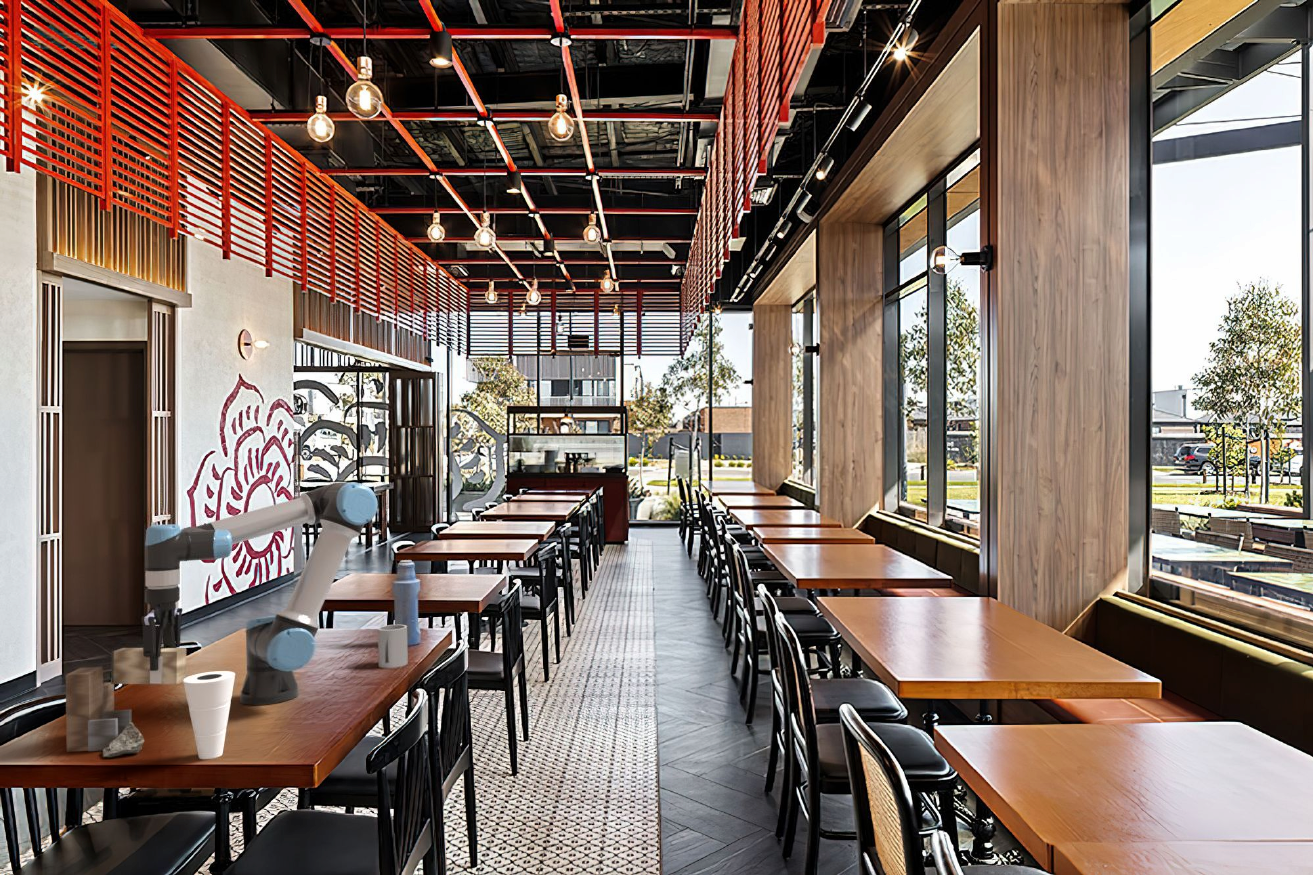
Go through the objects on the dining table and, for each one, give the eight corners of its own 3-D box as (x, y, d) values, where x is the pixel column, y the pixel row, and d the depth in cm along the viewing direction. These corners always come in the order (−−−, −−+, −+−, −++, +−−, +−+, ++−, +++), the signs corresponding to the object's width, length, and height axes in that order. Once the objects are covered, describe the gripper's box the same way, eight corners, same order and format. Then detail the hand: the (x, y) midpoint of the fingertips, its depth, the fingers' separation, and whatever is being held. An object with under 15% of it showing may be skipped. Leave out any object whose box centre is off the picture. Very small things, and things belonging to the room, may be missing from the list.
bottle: (395, 641, 318) (393, 559, 318) (423, 640, 319) (421, 558, 319) (390, 647, 308) (388, 562, 309) (418, 646, 309) (417, 561, 310)
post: (146, 727, 222) (145, 656, 223) (115, 749, 206) (114, 672, 206) (99, 730, 221) (98, 659, 221) (65, 752, 204) (64, 675, 204)
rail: (186, 680, 219) (186, 648, 219) (176, 684, 215) (176, 651, 215) (121, 679, 220) (122, 647, 220) (111, 683, 216) (111, 651, 216)
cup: (407, 659, 289) (406, 623, 290) (408, 666, 281) (407, 628, 281) (378, 662, 286) (377, 626, 287) (378, 669, 278) (378, 631, 278)
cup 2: (195, 767, 193) (193, 685, 193) (177, 756, 200) (175, 678, 200) (244, 754, 201) (243, 675, 201) (225, 744, 208) (223, 668, 208)
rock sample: (86, 739, 202) (120, 710, 205) (109, 751, 208) (141, 723, 211) (102, 766, 196) (136, 736, 199) (125, 778, 202) (158, 749, 205)
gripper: (168, 581, 227) (167, 672, 226) (125, 591, 210) (125, 689, 209) (196, 581, 226) (196, 672, 226) (156, 591, 209) (155, 689, 209)
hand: (162, 680), depth 217 cm, fingers closed on rail, 4 cm apart
